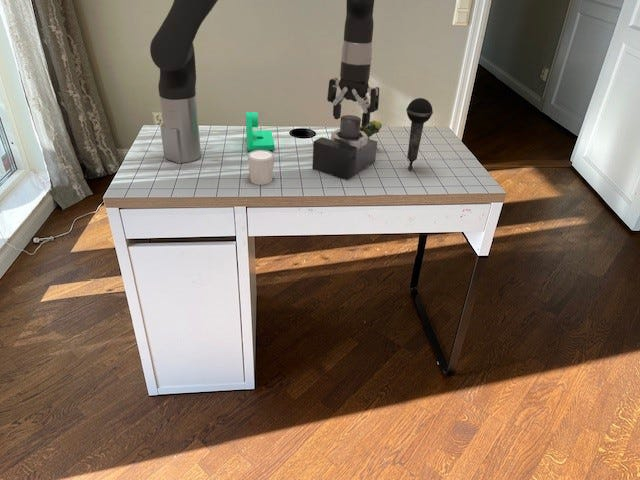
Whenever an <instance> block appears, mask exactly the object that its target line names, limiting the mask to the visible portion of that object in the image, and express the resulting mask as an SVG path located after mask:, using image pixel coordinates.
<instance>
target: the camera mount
mask: <svg viewBox="0 0 640 480" xmlns="http://www.w3.org/2000/svg"><path fill="white" fill-rule="evenodd" d="M253 128H259V113H258V111H245V129H246V130H245V132H246V133H245V134H246V145H247V151H249V152H251V151H255V150H267V151H274V150H275V141H274V136H273V133H272V132H273V131H271V130H266V129H265V130H264V129H263V130H253Z"/></svg>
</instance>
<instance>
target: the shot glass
mask: <svg viewBox="0 0 640 480" xmlns="http://www.w3.org/2000/svg"><path fill="white" fill-rule="evenodd" d="M246 156H247V164H248V170H249V172H248V173H249V178H250V182H251V183H252V184H255V185H260V186H261V185H263V186H264V185H268V184H270V183H272V182H273V175H274V167H275V166H274V165H275V153H274V152H272V151H271V150H255V151H249V152H248V153H247V155H246Z"/></svg>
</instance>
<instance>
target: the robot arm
mask: <svg viewBox="0 0 640 480" xmlns="http://www.w3.org/2000/svg"><path fill="white" fill-rule="evenodd" d="M218 1H219V0H173V3H172V5H171V7H170V10H169V11H168V13H167V15H166V16H165V19H164V20H163V22H162V23H161V26H160V27H159V28H158V30H157V31H156V33H155V35H154V37H153V38H152V40H151V41H150V47H149V50H150V53H149V54H150V57H151V59H152V62H153V64H154V65H155V66H156V67H157V68H158V69H159V81H158V86H157V88H158V96H159V102H160V110H161V111H160V112H161V117H162V124H160V125H159V126H160V127H159V128H160V134H161V135H160V136H161V142H162V143H161V144H162V149H163V157H164V159H165V160H168V161H170V162H171V161H172V162H174V163H177V164H178V165H179V164H183V163H191V162H194V161H197V160H198V159H200V158H201V157H202V149H201V148H202V147H201V139H200V137H201V136H200V125H199V114H198V104H197V102H198V101H197V92H196V86H197V85H196V84H197V70H196V57H195V56H196V55H195V47H194V40H195V39H196V36H197V34H198V31H199V29H200V27H201V25H202V23H203V22H204V20H205V19H206V18H207V17H208V15H209V13H210V12H212V10H213V8H214V7H215V5H216V4H217V2H218ZM374 5H375V0H346V15H345V23H344V30H343V42H342V47H341V59H340V60H341V61H340V70H339V71H340V72H339V77H340V79H338V77H333V78H331V79H329V81H328V90H327V96H326V97H327V98H326V100H327V102H330V103H332V105H333V107H332V116H333V118H334V119H335V120H339V119H341V117H342V116H341V115H342V104H341V103H342V102H343V101H344V100H347V101H352V102H357V104H358V105H359V106H360V107H361V110H362V114H361V115H362V116H361V124H360V126H363V127H365V126H367V124H369V122H371V121H370V120H371V114H372V113H374V112H376V111H378V110H379V104H380V103H379V102H380V101H379V100H380V87H379V86H377V87H372V86H369V81H370V75H371V74H370V72H371V63H372V59H373V58H372V55H373V54H372V53H373V42H372V41H373V34H374V16H373V14H374ZM338 88H339V89H340V92H339V93H338V95H337V92H338ZM367 94H368V95H367ZM368 96H370V99H369V97H368Z"/></svg>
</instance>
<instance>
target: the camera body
mask: <svg viewBox="0 0 640 480" xmlns="http://www.w3.org/2000/svg"><path fill="white" fill-rule="evenodd" d="M378 143H379V142H378V141H377V140H373V139H370V138H369V139H368V136H367V135H366V134H365V132H363V131H360V134H359V139H358V140H347V139H343V138H340V128H339V129H336V130H334V131H332V132H331V136H330V139H329V138H328V137H327V138H326V137H323V136H320V137H319V138H317V139H315V140H313V145H312V146H313V147H312V148H313V149H312V150H313V151H312V170H314V171H318V172H320V173H324V174H325V175H326V174H327V175H329V176H333V177H336V178H339V179H342V180H346V181H348V180H349V179H351V178H352V177H354V176H355V175H357V174H358V173H360V172H361V171H363V170H364V169H366V168H368V167H369V166H370V165H372V164H373V163H375V162H376V159H377V150H378V149H377V148H378Z"/></svg>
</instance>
